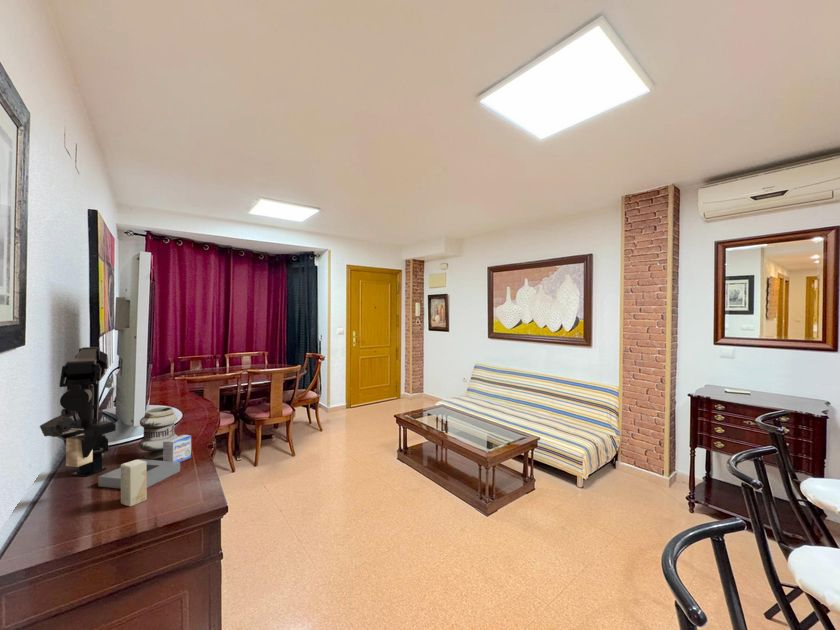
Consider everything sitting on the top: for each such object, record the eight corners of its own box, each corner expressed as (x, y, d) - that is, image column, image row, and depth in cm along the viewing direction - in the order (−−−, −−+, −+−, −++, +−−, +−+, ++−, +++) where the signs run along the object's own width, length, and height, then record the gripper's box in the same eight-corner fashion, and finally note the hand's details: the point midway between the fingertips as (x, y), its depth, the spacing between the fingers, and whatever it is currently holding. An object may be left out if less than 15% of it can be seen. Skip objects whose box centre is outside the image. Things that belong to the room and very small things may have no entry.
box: (147, 500, 101) (147, 461, 101) (129, 507, 97) (130, 467, 98) (137, 496, 103) (137, 458, 104) (119, 503, 100) (120, 464, 100)
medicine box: (172, 466, 125) (173, 442, 125) (162, 465, 126) (162, 441, 126) (191, 457, 132) (191, 434, 133) (181, 457, 133) (181, 434, 133)
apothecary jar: (138, 465, 125) (139, 415, 126) (138, 455, 135) (139, 408, 135) (179, 457, 133) (180, 409, 133) (176, 448, 142) (177, 404, 143)
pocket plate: (98, 486, 110) (98, 476, 110) (140, 467, 123) (140, 459, 124) (141, 490, 107) (141, 480, 107) (180, 471, 121) (180, 462, 121)
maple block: (65, 466, 101) (66, 438, 101) (81, 460, 105) (81, 433, 105) (77, 467, 100) (77, 439, 101) (92, 461, 104) (92, 434, 104)
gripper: (19, 408, 97) (18, 465, 96) (75, 411, 94) (74, 470, 93) (66, 399, 108) (66, 450, 107) (117, 402, 104) (117, 454, 104)
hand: (79, 456), depth 103 cm, fingers closed on maple block, 4 cm apart
